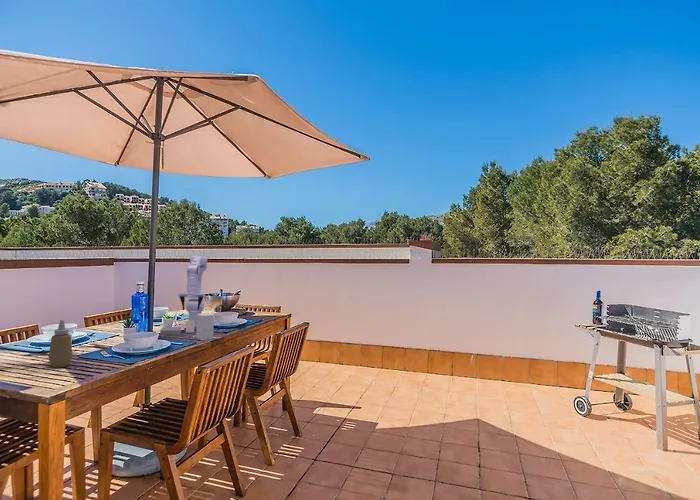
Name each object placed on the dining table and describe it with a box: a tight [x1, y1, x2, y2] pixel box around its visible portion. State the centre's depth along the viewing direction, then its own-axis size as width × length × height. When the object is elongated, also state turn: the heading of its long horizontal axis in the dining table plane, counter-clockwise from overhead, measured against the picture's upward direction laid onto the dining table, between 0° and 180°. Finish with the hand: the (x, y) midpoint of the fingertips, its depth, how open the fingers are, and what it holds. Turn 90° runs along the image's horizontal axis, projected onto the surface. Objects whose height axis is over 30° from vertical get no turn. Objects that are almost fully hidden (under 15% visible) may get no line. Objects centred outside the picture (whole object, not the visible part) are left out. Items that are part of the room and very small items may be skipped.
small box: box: [195, 312, 215, 341], centre depth 240 cm, size 8×6×13 cm
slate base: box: [159, 326, 182, 336], centre depth 251 cm, size 10×10×2 cm
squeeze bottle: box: [48, 319, 73, 369], centre depth 178 cm, size 8×8×18 cm
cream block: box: [185, 320, 195, 333], centre depth 258 cm, size 4×4×6 cm
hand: (190, 310), depth 254 cm, fingers open, 7 cm apart
